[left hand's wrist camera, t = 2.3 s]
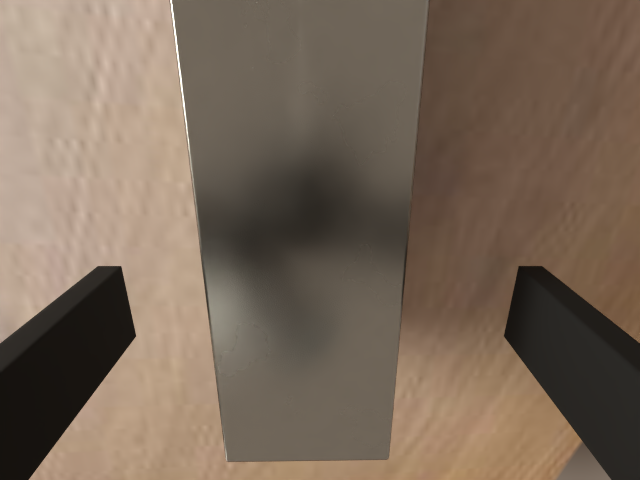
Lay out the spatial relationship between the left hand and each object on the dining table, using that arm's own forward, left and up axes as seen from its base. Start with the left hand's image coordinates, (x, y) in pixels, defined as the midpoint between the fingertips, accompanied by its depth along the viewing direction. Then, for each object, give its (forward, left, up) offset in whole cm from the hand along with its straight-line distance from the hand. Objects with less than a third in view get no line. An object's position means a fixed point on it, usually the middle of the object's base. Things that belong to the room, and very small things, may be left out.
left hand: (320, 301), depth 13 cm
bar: (+7, +4, -7) cm, 10 cm away
